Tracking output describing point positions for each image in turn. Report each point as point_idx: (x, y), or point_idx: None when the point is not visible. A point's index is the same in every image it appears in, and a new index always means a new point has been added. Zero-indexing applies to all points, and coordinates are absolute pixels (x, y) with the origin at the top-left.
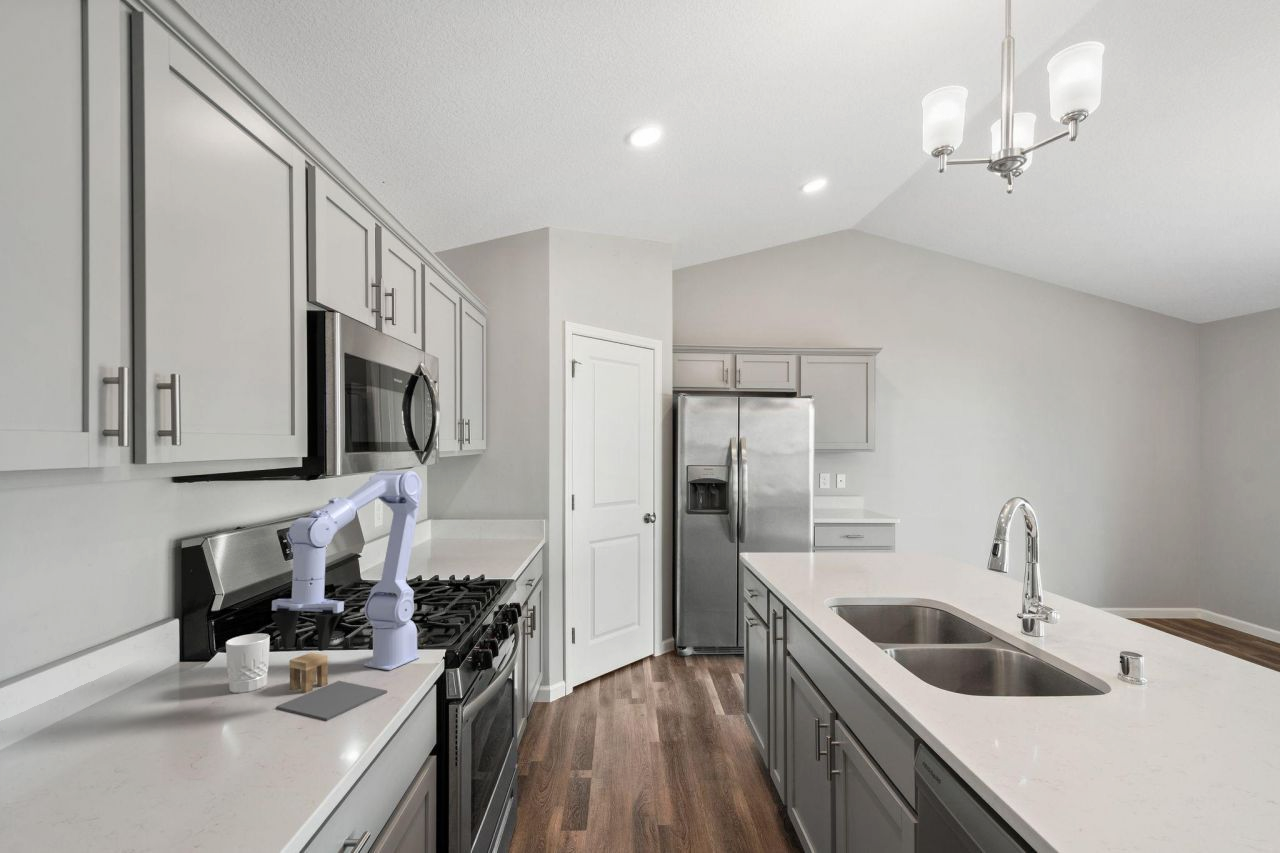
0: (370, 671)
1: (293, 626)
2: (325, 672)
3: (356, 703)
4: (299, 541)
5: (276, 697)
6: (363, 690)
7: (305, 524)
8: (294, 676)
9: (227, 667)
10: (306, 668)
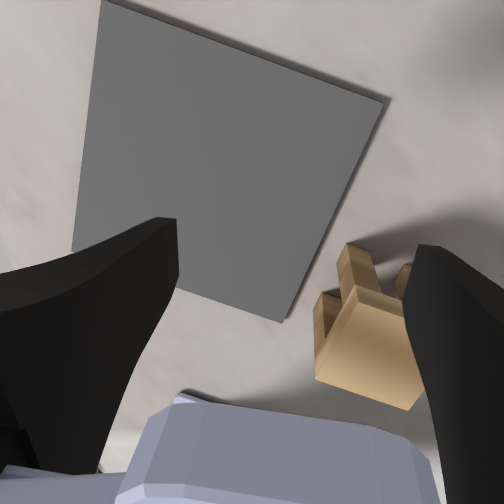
0: (235, 392)
1: (444, 402)
2: (317, 329)
3: (92, 145)
4: None
5: (440, 204)
6: None
7: None
8: None
9: None
10: (354, 289)
